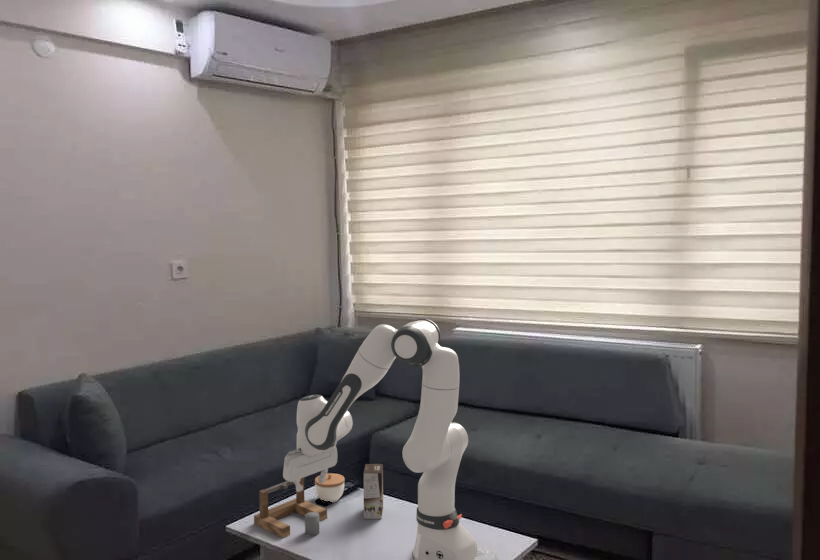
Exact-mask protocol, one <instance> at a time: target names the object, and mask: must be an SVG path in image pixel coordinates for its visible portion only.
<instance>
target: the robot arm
mask: <svg viewBox="0 0 820 560" xmlns="http://www.w3.org/2000/svg"><path fill="white" fill-rule="evenodd" d="M441 335H442V334H441V330H440V328H439V326H438V325H437V324H436V322H434V321H432V320H431V319H428V318H421V319H419V318H418V319H416V320H413V321H411V322H408V323H406V324H404V325H403V326H401V327H399V329H397V328H395V327H393V326H391V325H389V324H385V323H384V324H383V323H382V324H378V325H376V326H375V327H374V328H373V329H372V330H371V331H370V333H369V334H367V336H366V338H365V339H364V340H363V341H362V344H361V345H360V346H359V348H358V350H357V351H356V353H355V355H354V356H353V358H352V360H351V363H350V364H349V366H348V368H347V370H346V372H345V374H344V375H343V377H342V378H341V381H340V383H339V384H338V385H337V387H336V388H335V390H334V391H333V392H332V395H331V397H330V398H329V399H328V400H327V399H325V398H324V396H323V395H321V394H316V393H315V394H310V395H306V396H304V397H302V398H300V399H299V400H298V403H297V406H296V407H297V408H296V426H297V433H296V449H294V450H290V451H288V452H287V454H286V455H285V457H284V463H283V470H282V477H283V479H284V480H285V481H289V482H294V484H293V485H295V492H296V491H298V492H300V491H303V485H300V483H299V482H300V479H301V478H304V479H305V478H306V477H309V476H311V475H314V474H317V473H319V472H320V475H318V476H319V477H318V476H317V477H318V479H319V480H318V481H319V482H320V483H323V482H325V477H326V475H327V474H328V473H329V472H328V471H329V468H333V467H335V466H336V465H337V463H338V449H337V443H338V441H340V440H341V439H343V438H344V437H345V436H347V434H349V433H350V432H351V431H352V429H353V425H354V420H353V416H352V413H350V411H349V409H350V407H351V406H352V405H353V403H354V402H355V401H356V400H357V399H358V398H359V397H360V396H362V395H363V394H364V393H366V392H367V391H369V390H370V389H372V388H373V387H375V386H376V385H377V384H378V383H379V382H380V381H381V380H382V379H383V378H384V377H385V375H386V374H387V372H388V371H389V369H390V368H391V366H392V365H393V364H394V361H395V360H396V359H398V360H399V361H401V362H403V363H407V364H410V365H412V366H414V367H416V368H422V380H421V393H420V394H421V395H420V403H419V404H420V405H419V409H418V410H419V411H418V415H417V417H416V421H415V423H414V427H413V430H412V432H411V435H410V436H409V438H408V440H407V442H406V443H405V444H404V446H403V448H402V451H401V452H402V459H403V463H404V464H405V466H406V467H407V468H408V469H409V470H410V471H411V472H413V473H416V474H417V473H418V474H419V473H420V474H421V473H422V475H421V476H420V478H419V480H418V483H417V506H416V519H415V521H416V523H417V527H416V536H415V541H414V545H413V546H414V547H413V549H412V556H413V558H414V560H474V559H475V557H477V555H478V553H479V552H478V551H479V550H478V544H477V540H476V539H475V537H473V536H472V535H471V533H470V532H469V531H468V530H467V529H466V528H465V527H464V526H463V525H462V523H461V522H460V519H462V518H463V514H462V513H460V514H459V515H458V512H457V510H456V507H455V501H456V499H455V497H456V496H455V491H456V483H457V482H456V481H457V476H458V472H459V468H460V464H461V461H462V457H463V455H464V452H465V450H466V449H467V447H468V444H469V434H468V433H467V430H466V429H465V427H463V425H461V424H459V423H458V422H453V419H454V418H455V416H456V414H457V412H458V410H459V409H458V408H459V407H458V405H459V395H460V394H459V393H460V375H461V374H460V363H459V356H458V354H457V353H456V351H454V350H453V349H451V348H450V347H446V346H441V345H440V342H441Z"/></svg>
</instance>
